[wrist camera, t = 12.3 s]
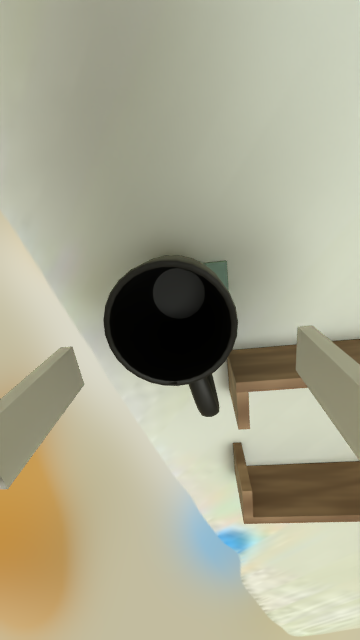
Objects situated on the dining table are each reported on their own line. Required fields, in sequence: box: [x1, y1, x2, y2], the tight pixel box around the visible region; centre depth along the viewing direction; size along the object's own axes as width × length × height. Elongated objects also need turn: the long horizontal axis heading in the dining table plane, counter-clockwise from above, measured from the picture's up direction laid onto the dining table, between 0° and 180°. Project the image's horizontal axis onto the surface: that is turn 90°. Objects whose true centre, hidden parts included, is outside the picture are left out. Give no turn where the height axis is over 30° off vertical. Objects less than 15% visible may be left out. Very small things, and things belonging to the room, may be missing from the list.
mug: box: [104, 256, 238, 417], centre depth 19 cm, size 8×12×10 cm
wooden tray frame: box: [227, 339, 360, 524], centre depth 25 cm, size 18×24×6 cm
